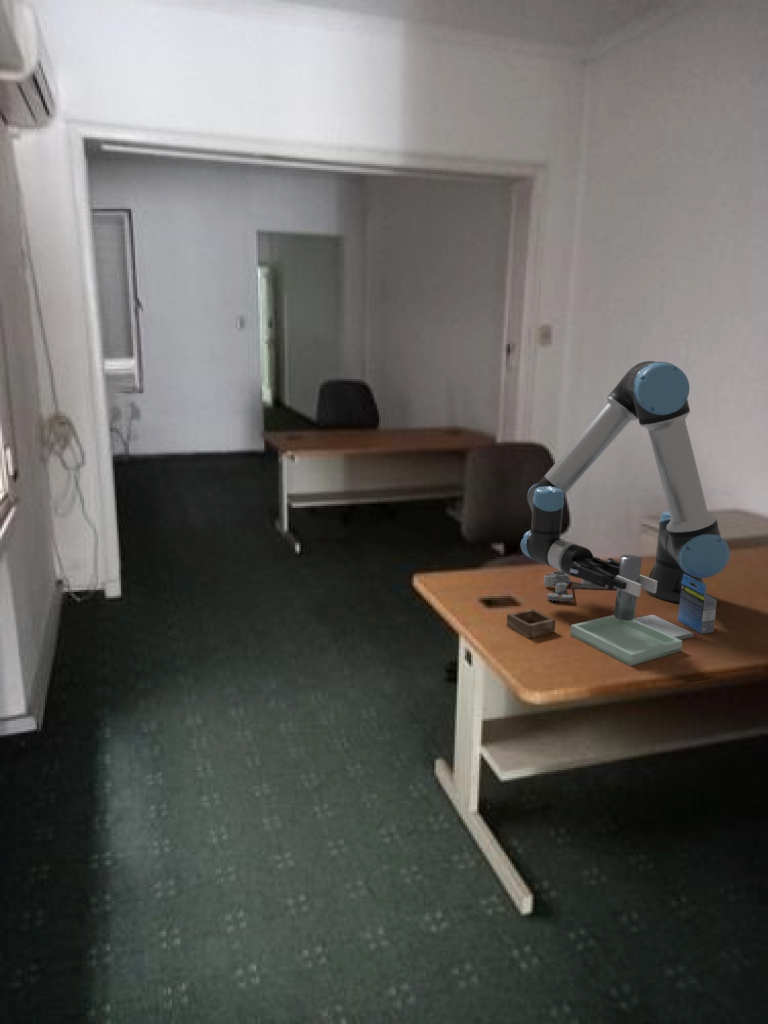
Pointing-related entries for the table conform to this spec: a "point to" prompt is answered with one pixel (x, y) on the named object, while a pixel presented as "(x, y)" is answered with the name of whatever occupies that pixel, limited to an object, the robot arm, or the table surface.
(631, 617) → the pin
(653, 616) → the external hard drive
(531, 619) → the pin socket
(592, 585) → the pulley system
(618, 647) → the tray
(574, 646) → the table surface
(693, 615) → the label tape box
